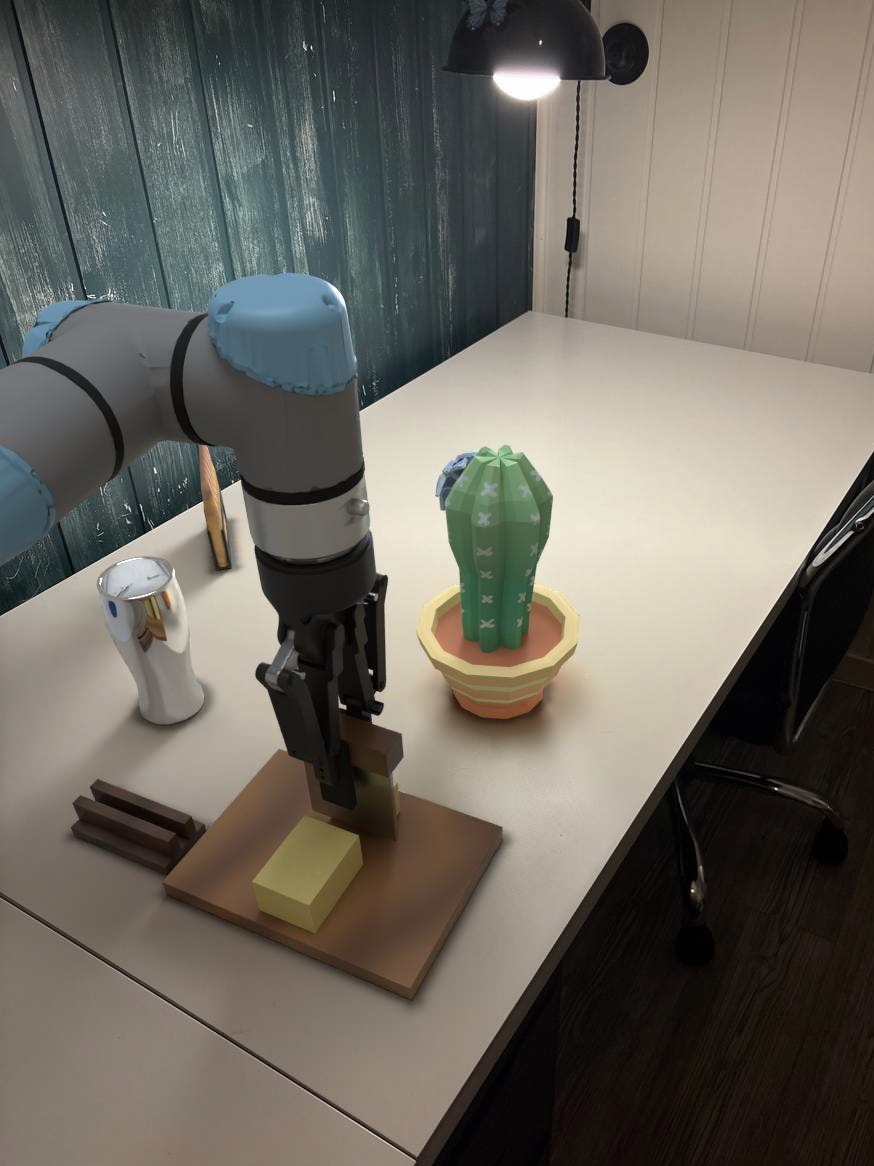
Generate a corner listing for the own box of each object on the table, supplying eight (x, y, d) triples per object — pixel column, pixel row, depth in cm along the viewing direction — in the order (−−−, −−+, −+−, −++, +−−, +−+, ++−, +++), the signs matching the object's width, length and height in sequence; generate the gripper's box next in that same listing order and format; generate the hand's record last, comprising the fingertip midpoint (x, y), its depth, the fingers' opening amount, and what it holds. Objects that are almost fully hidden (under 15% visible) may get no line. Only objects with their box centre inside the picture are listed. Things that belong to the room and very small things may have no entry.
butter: (259, 910, 72) (251, 881, 69) (310, 843, 77) (304, 814, 74) (315, 934, 70) (309, 905, 68) (363, 864, 75) (359, 835, 73)
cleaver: (300, 817, 78) (281, 718, 71) (316, 797, 80) (299, 699, 73) (395, 853, 75) (385, 754, 68) (410, 832, 77) (402, 733, 70)
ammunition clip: (232, 568, 110) (212, 476, 103) (215, 570, 110) (194, 479, 102) (227, 521, 118) (208, 433, 111) (212, 523, 118) (192, 435, 110)
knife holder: (73, 835, 80) (62, 811, 78) (114, 794, 83) (105, 770, 81) (168, 875, 76) (159, 851, 74) (206, 831, 80) (199, 807, 78)
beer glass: (121, 720, 90) (77, 592, 81) (161, 674, 96) (123, 549, 86) (185, 734, 89) (148, 606, 79) (222, 687, 94) (191, 561, 84)
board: (165, 893, 75) (161, 882, 74) (281, 759, 86) (278, 748, 85) (411, 1000, 67) (410, 988, 66) (503, 838, 79) (503, 826, 78)
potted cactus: (559, 632, 100) (569, 411, 84) (594, 733, 88) (613, 497, 72) (413, 646, 98) (396, 424, 83) (428, 752, 86) (412, 515, 71)
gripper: (293, 616, 53) (338, 877, 68) (422, 490, 64) (437, 738, 79) (186, 585, 56) (252, 843, 71) (328, 469, 67) (359, 713, 82)
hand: (350, 787), depth 75 cm, fingers closed on cleaver, 2 cm apart
